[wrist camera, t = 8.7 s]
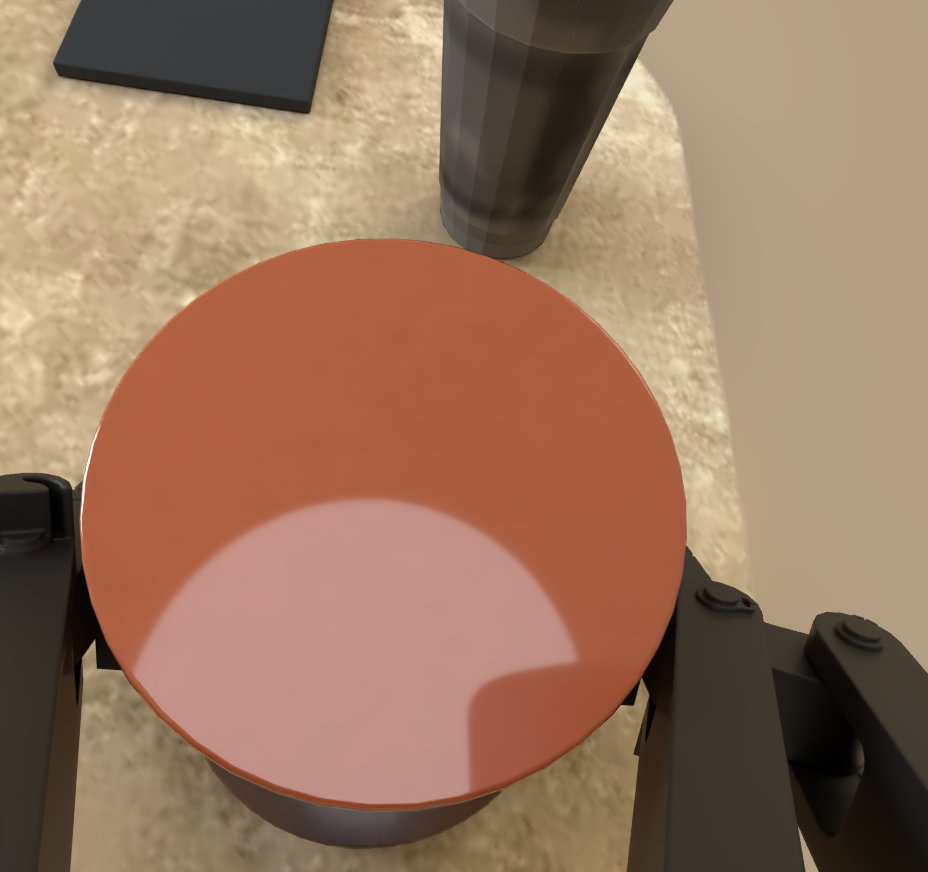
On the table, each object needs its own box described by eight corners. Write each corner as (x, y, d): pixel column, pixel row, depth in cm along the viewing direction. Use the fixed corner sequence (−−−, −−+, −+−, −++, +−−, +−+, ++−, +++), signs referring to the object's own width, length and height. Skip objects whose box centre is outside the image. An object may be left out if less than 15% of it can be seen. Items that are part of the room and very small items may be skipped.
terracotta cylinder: (516, 511, 20) (667, 271, 10) (510, 790, 17) (717, 830, 7) (262, 486, 19) (163, 203, 10) (208, 773, 16) (-21, 792, 6)
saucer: (543, 499, 23) (563, 471, 21) (541, 847, 19) (566, 858, 17) (235, 468, 22) (221, 436, 20) (159, 829, 18) (131, 838, 16)
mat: (340, -34, 33) (340, -47, 33) (309, 113, 29) (308, 101, 28) (123, -71, 32) (118, -86, 32) (57, 76, 28) (51, 62, 27)
